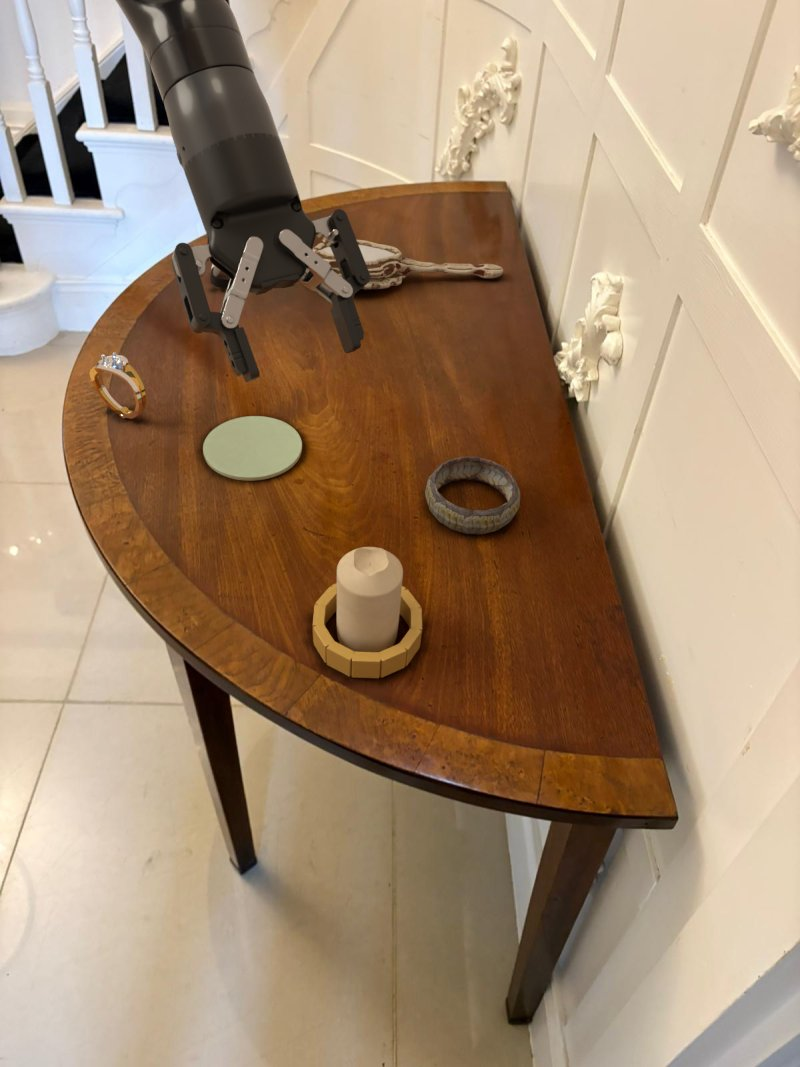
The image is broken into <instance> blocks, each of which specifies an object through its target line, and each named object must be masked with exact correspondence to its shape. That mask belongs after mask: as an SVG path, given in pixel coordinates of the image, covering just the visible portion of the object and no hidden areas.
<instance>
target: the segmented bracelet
mask: <svg viewBox="0 0 800 1067" xmlns="http://www.w3.org/2000/svg"><path fill="white" fill-rule="evenodd" d="M335 613H337V582H335V583H333V584H332V585H331V586H329V587H328V588H326V590H325V591H324V592H323V594H322V595H321V596H320V597H319V598H318V599H317V600H316V602H315V603H314V605H313V616H312V643H313V646H314V647H315V649H316V651H317V652H318V654H319V655H320V657H321V659H322V660H323V662H324V664H326V666H328V667H330V668H332V669H333V670H336V671H337V672H340V673H341V674H343V675H345V676H347V677H349V678H350V677H351V678H355V679H356V678H357V679H358V678H359V679H379V678H384V677H386V676H389V675H391V674H393V673H395V672H398V671H401V670H403V669H405V668H406V667H407V666H408V665H409V664H410V662H411V661H412V659H413V658H414V657H415V655H416V654H417V652H418V651H419V649H420V647H421V644H422V634H423V609H422V606H421V605H420V604H419V602H418V601H417V599H416V598H415V597H414V595H413V594H412V592H410V590H409V589H408V588H407V587H406V586H403V585H402V590H401V601H400V613H399V615H400V616H401V617H402V619H403V620H404V622H405V623H406V624H407V626H408V631H407V632H406V634H405V635H404V636H403V638H402V639H401V640H400V641H399V643H397V644H394V645H393V646H392V647H390V648H388V649H385V650H383V651H381V652H355V651H353V650H351V649H349V648H347V647H345V646H343V645H341V644H340V642H337V641H335V639H334V638H333V636H332V635H331V634H330V632H329V629H327V626H326V625H327V622H329V620H330V619H331V618H332V617H333V616H334V614H335Z"/></svg>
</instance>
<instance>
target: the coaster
mask: <svg viewBox="0 0 800 1067" xmlns="http://www.w3.org/2000/svg"><path fill="white" fill-rule="evenodd" d="M302 452H303V442H302V438H301V435H300V434H299V433H298V431H297V430H296V429H295V428H294V427H293V426H291V425H290V424H289V423H287V422H285V421H283V420H280V419H278V418H274V417H269V416H263V415H249V416H240V417H236V418H232V419H230V420H227V421H225V422H222V423H220V424H219V425H217V426H216V427H214V428H213V429H212V430H211V431H210V432H209V433H208V435H207V436H206V437H205V439H204V441H203V445H202V454H203V458H204V460H205V463H207V465H208V467H209V468H210V469H212V470H213V471H214V472H216V473H217V474H219V475H221V476H223V477H226V478H227V479H228V478H229V479H232V480H237V481H245V482H246V481H247V482H254V481H262V480H268V479H272V478H275V477H277V476H280V475H282V474H284V473H286V472H287V471H289V470H291V469H292V468H293V467H294V466H295V465H296V464H297V463H298V461H299V460H300V458H301V456H302Z"/></svg>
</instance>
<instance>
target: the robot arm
mask: <svg viewBox="0 0 800 1067" xmlns="http://www.w3.org/2000/svg"><path fill="white" fill-rule="evenodd" d="M115 2H116V4H117V5H118V7H119V8H120V10H121V11H122V13H123V15H124V17H125V18H126V21H127V22H128V24H129V25H130V27H131V29H132V30H133V32H134V34H135V36H136V37H137V39H138V41H139V43H140V45H141V46H142V49H143V51H144V53H145V55H146V57H147V61H148V63H149V66H150V69H151V72H152V75H153V78H154V81H155V84H156V85H157V89H158V91H159V94H160V97H161V100H162V103H163V104H164V109H165V112H166V116H167V120H168V124H169V130H170V134H171V138H172V141H173V144H174V147H175V149H176V150H175V151H176V157H177V160H178V162H179V165H180V166H181V168H182V169H183V172H184V175H185V177H186V178H185V179H186V181H187V183H188V186H189V189H190V192H191V194H192V197H193V200H194V203H195V205H196V206H195V207H196V208H197V209H196V210H197V211H198V215H199V217H200V220H201V223H202V226H203V228H204V230H205V234H206V237H207V244H199V245H194V246H193V245H192V246H191V245H190V244H188V243H187V242H179V243H177V244H176V246H175V248H174V250H173V253H172V255H171V257H170V264H171V267H172V271H173V274H174V278H175V281H176V284H177V287H178V291H179V294H180V298H181V301H182V304H183V308H184V311H185V314H186V317H187V320H188V324H189V327H190V329H191V331H192V332H193V333H195V334H203V333H205V334H214V335H216V336H218V337H219V338H220V339H221V341H222V344H223V347H224V350H225V353H226V356H227V358H228V361H229V364H230V367H231V370H232V372H233V373H234V374H235V375H236V377H241V376H242V378H243V380H244V381H245V383H249V382H252V381H256V380H257V379H259V378H260V371H259V367H258V364H257V362H256V359H255V356H254V354H253V350H252V347H251V345H250V342H249V340H248V337H247V334H246V333H247V332H246V331H245V328H244V326H241V327H240V325H239V322H240V318H241V315H242V312H243V309H244V306H245V303H246V300H247V298H248V296H249V293H252V294H254V295H255V296H259V295H263V294H266V293H268V292H270V291H271V290H273V289H286V288H292V287H294V286H295V285H296V284H297V283H298V282H299V283H300V284H301V285H303V286H304V287H305V288H307V290H310V291H313V292H315V293H317V294H318V295H319V296H321V297H322V298H323V299H325V300H326V301H327V302H328V303H330V304H331V305H332V307H331V308H330V309H329V312H330V314H331V317H332V320H333V323H334V326H335V329H336V332H337V335H338V337H339V341H340V343H341V344H340V345H341V347H342V350H343V351H344V353H345V354H350V353H353V352H356V351H357V350H359V349H360V348H361V347H362V342H361V341H362V340H364V335H365V334H364V332H365V331H364V328H363V325H362V321H361V319H360V317H359V314H358V310H357V308H356V305H355V301H354V299H355V298H354V297H355V294H356V293H358V292H359V291H360V290H361V289H362V287H364V286H365V285H366V284H368V283H369V281H370V279H371V277H370V273H369V271H368V268H367V266H366V263H365V260H364V258H363V255H362V253H361V250H360V248H359V245H358V242H357V240H358V239H357V237H356V235H355V233H354V230H353V227H352V224H351V222H350V219H349V217H348V214H347V212H346V211H345V210H343V209H341V208H337V209H335V210H334V211H333V212H332V213H331V214H330V215H328V216H324V217H321V218H317V219H313V220H312V219H311V218H310V217H308V215H307V213H306V212H305V211H304V209H303V206H302V202H301V197H300V194H299V191H298V189H297V185H296V182H295V179H294V176H293V173H292V170H291V168H290V165H289V162H288V158H287V156H286V153H285V150H284V147H283V143H282V141H281V138H280V135H279V131H278V130H277V126H276V123H275V120H274V117H273V115H272V112H271V109H270V106H269V104H268V103H269V102H268V101H267V99H266V97H265V95H264V92H263V91H262V89H261V87H260V85H259V82H258V80H257V78H256V75H255V71H254V69H253V65H252V63H251V60H250V57H249V54H248V51H247V48H246V45H245V43H244V39H243V36H242V33H241V29H240V26H239V24H238V21H237V19H236V18H237V17H236V16H235V14H234V11H233V9H232V8H231V6H230V5H229V3H228V1H226V0H115ZM316 238H318V239H320V240H321V243H324V245H326V246H327V247H331V250H332V252H333V255H334V257H335V260H336V262H337V265H338V267H339V270H340V272H341V275H342V277H341V276H339V275H338V274H337V273H336V272H334V271H333V270H332V267H331V265H330V264H329V263H328V262H327V261H325V260H324V259H323V258H322V257H320V256H319V255H318V254H317V253H315V252H314V251H313V250H312V249H313V248H314V243H315V240H316ZM208 261H209V262H210V263H211V264H213V265H214V266H216V267H217V268H218V269H219V270H221V271H220V272H222V273H223V274H224V275H226V276H227V277H228V279H230V281H229V284H228V287H227V288H226V290H225V294H224V297H223V301H222V305H221V309H220V312H219V311H211V308H210V305H209V301H208V298H207V295H206V292H205V289H204V286H203V282H202V279H201V278H202V277H203V276H204V274H205V272H206V269H207V267H206V263H207V262H208Z"/></svg>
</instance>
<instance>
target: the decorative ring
mask: <svg viewBox="0 0 800 1067" xmlns="http://www.w3.org/2000/svg"><path fill="white" fill-rule="evenodd" d="M459 481H472V482H473V481H475V482H478V483H482V484H486V485H488V486H490V487H492V488H494V489H496V490H497V491H498V492H499V493H501V495H502V496H503V497H504V498H505V500H506V501H507V502H505V503H503V504H502V505H500V506H498V507H495V508H490V509H486V510H485V509H484V510H481V509H480V510H479V509H469V508H465V507H461V506H458V505H456V504H454V503H452V502H451V501H448V500H447V499H445V498H444V496H443V495H442V494H441V493H440V491H439V489H440V488H442V487H444V486H446V485H448V484H450V483H453V482H459ZM424 496H425V500H426V503H427V507H428V510H429V512H430V513H431V514H432V516H433V517H434V518H435V519H436V520H437V521H438V523H440V524H442V525H443V526H445V527H446V528H449V530H452V531H455V532H458V533H462V534H465V535H485V534H490V533H495V532H498V531H499V530H500V529H502V528H503V527H505V526H507V525H508V524H510V523H511V521H512V520H513V519H514V517H515V515H516V514H517V513H518V511H519V509H520V504H521V490H520V487H519V486H518V483H517V480H516V478H515V477H514V475H513V474H512V473H511V472H510V471H509V470H508V469H507V468H506V467H505V466H503V465H501V464H499V463H497V462H495V461H494V460H490V459H487V458H483V457H479V456H460V457H455V458H450V459H448V460H446V461H445V462H443V463H441V464H439V465H438V466H437V467H436V468H435V470H434V471H433V472H432V473H431V474H430V476H429V477H428V479H427V482H426V485H425V490H424Z"/></svg>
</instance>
